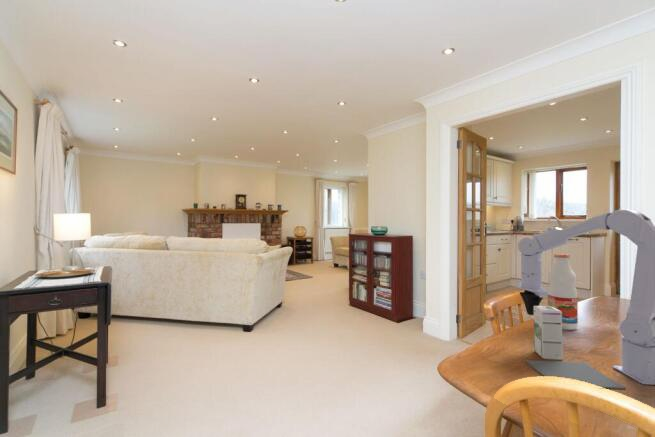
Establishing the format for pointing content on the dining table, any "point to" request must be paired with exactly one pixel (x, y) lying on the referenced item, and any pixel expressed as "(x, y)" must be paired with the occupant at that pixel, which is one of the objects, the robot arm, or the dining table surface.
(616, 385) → the slate mat
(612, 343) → the dining table surface
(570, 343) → the dining table surface
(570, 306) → the fruit juice
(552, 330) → the syrup box
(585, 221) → the robot arm
